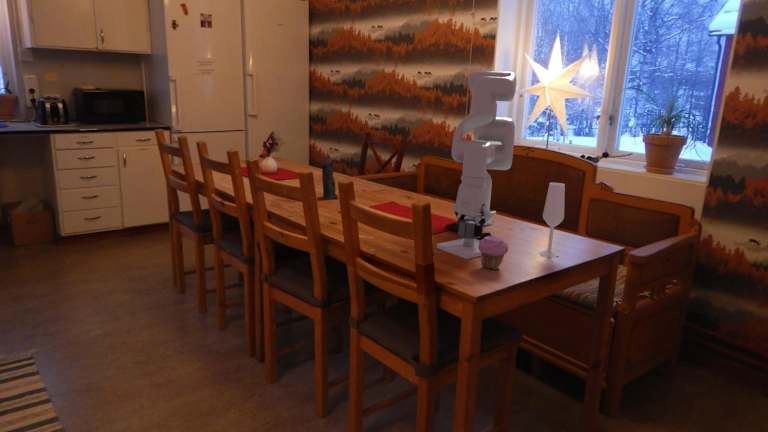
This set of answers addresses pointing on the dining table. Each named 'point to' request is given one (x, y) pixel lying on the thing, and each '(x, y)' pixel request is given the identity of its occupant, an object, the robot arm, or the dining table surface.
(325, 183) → the statue
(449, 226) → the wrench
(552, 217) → the champagne flute
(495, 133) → the robot arm
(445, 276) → the dining table surface
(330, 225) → the dining table surface
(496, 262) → the cupcake
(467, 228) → the steel ring
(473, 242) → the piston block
